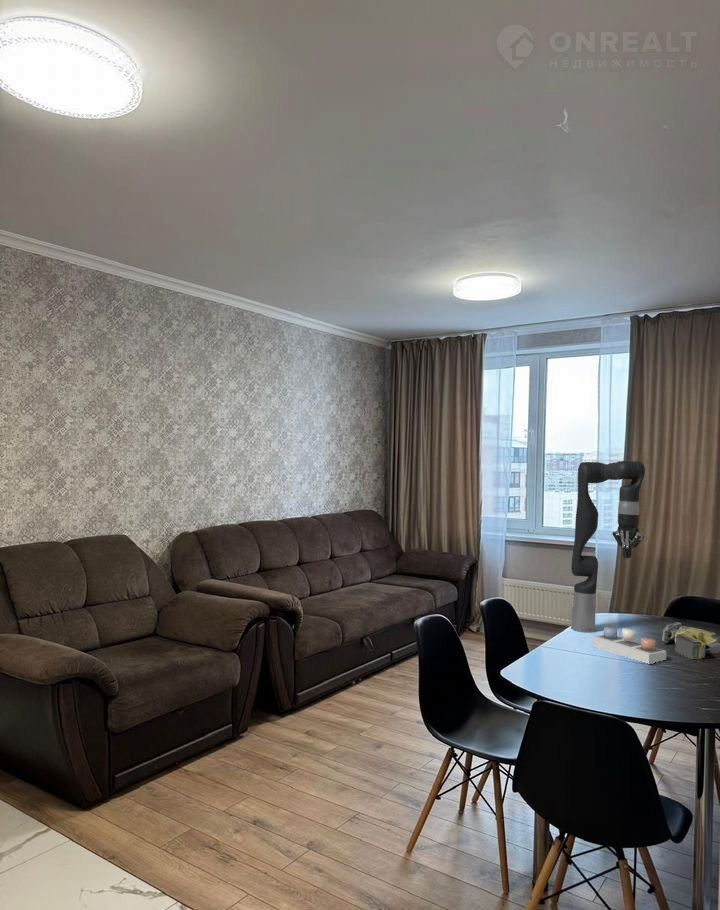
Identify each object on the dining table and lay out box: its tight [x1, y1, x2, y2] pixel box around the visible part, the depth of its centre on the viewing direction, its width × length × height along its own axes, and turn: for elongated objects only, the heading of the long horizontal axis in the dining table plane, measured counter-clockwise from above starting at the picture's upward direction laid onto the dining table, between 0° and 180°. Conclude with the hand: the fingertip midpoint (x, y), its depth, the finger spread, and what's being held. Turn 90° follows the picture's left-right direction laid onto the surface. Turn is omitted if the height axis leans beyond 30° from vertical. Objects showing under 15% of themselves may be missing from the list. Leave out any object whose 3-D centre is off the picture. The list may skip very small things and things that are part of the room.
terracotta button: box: [640, 637, 657, 651], centre depth 241 cm, size 5×5×4 cm
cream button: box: [621, 627, 637, 642], centre depth 248 cm, size 5×5×4 cm
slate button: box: [603, 626, 618, 639], centre depth 256 cm, size 5×5×4 cm
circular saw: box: [661, 621, 720, 660], centre depth 256 cm, size 10×30×25 cm
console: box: [592, 634, 667, 664], centre depth 248 cm, size 25×10×4 cm, turn 30°
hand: (627, 557), depth 248 cm, fingers closed
